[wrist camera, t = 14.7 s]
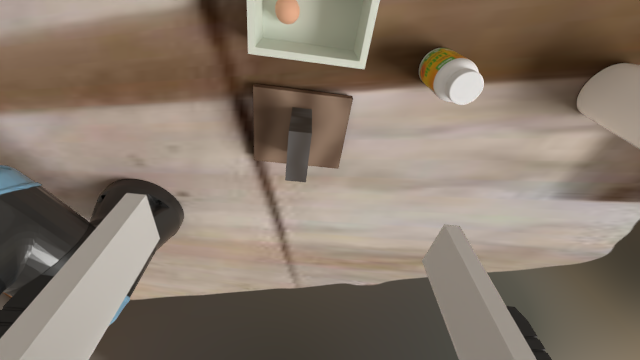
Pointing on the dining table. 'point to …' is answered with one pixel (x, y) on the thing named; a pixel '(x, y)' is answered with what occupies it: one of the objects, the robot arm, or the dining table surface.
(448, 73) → the supplement bottle
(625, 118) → the candle holder
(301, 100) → the walnut lid
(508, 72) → the dining table surface
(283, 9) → the terracotta ball
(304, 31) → the sage box
